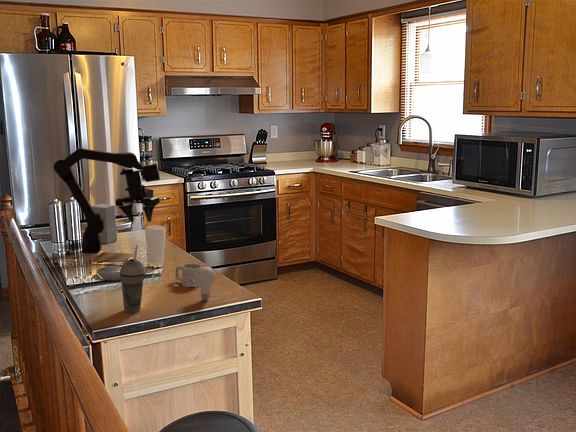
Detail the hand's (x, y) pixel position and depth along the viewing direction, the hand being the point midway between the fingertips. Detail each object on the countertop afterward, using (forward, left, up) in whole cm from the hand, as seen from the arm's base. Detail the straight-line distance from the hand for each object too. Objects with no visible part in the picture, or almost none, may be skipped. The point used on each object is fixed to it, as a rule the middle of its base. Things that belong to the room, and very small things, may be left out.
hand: (140, 221), depth 240 cm
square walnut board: (-7, -17, -12) cm, 22 cm away
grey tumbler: (+11, -22, -12) cm, 27 cm away
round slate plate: (-1, -35, -12) cm, 37 cm away
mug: (+25, -41, -12) cm, 50 cm away
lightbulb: (+33, -57, -12) cm, 67 cm away
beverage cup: (+13, -69, -12) cm, 71 cm away
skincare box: (-19, +12, -12) cm, 25 cm away
